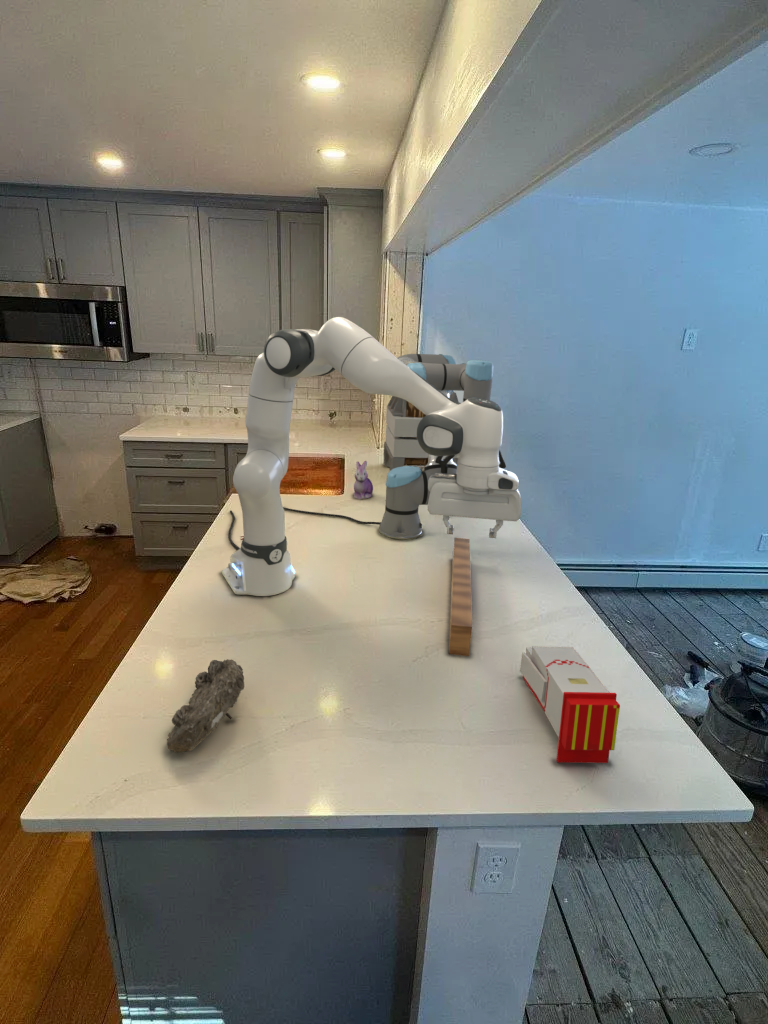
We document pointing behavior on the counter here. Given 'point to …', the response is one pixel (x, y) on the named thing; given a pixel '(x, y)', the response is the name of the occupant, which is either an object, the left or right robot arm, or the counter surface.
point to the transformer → (405, 434)
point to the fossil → (206, 705)
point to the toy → (572, 703)
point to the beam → (461, 599)
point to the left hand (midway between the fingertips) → (471, 535)
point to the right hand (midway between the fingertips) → (467, 488)
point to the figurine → (362, 482)
